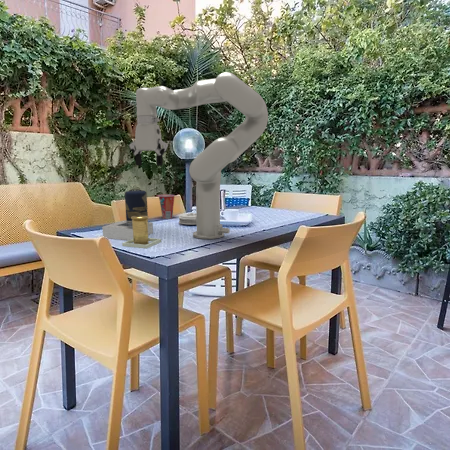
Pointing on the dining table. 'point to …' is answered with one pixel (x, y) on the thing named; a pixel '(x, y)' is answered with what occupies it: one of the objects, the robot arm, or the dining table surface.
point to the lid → (188, 218)
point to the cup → (166, 205)
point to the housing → (122, 230)
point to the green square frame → (129, 244)
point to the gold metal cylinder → (140, 229)
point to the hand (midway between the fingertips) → (149, 165)
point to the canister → (135, 203)
